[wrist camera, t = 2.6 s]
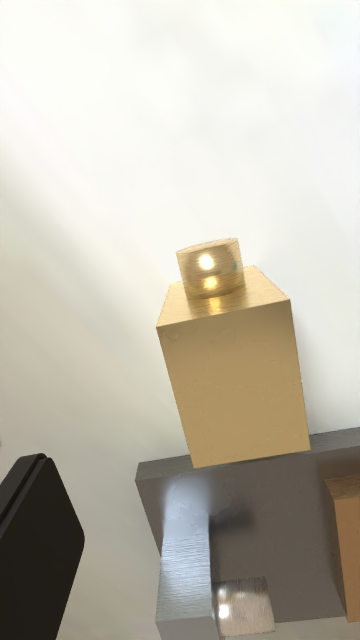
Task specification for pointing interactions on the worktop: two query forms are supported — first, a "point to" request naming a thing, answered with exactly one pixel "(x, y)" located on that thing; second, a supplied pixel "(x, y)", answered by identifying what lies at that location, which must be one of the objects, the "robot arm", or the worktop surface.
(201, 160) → the worktop surface
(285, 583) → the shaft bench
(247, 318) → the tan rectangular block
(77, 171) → the worktop surface
